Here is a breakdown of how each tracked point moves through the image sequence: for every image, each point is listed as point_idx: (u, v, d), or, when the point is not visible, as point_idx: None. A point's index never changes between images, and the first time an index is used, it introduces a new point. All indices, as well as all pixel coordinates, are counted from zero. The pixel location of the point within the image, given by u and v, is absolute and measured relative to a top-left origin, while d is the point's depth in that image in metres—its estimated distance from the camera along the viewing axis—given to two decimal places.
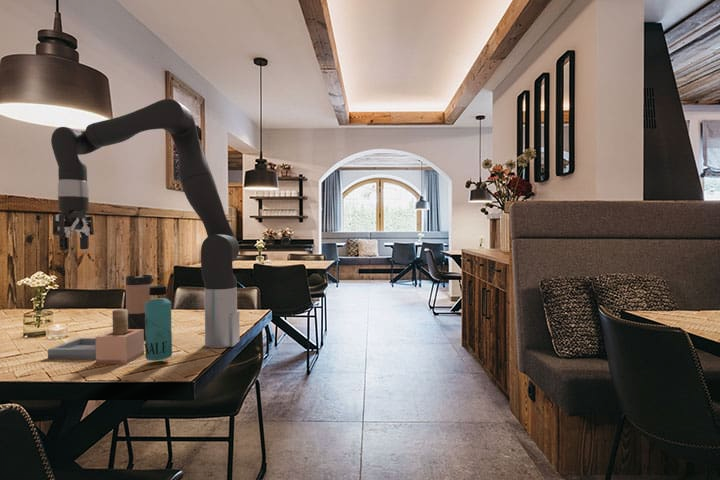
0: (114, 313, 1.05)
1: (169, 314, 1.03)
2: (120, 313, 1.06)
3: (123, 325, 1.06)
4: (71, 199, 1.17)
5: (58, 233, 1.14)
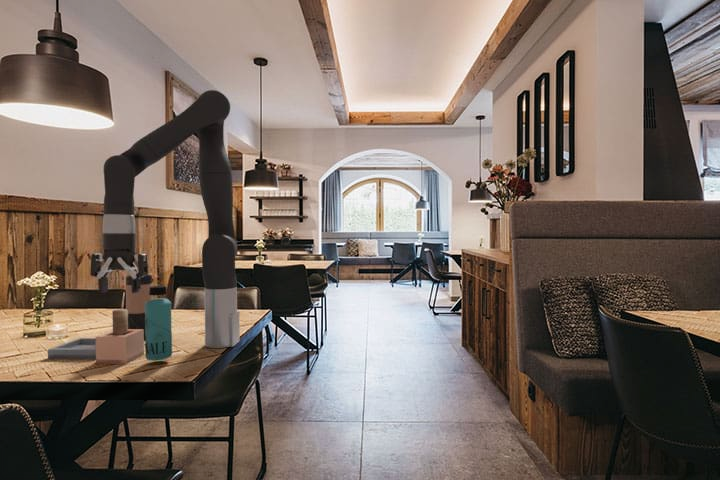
0: (114, 313, 1.05)
1: (169, 314, 1.03)
2: (120, 313, 1.06)
3: (123, 325, 1.06)
4: (135, 236, 1.08)
5: (146, 274, 1.07)
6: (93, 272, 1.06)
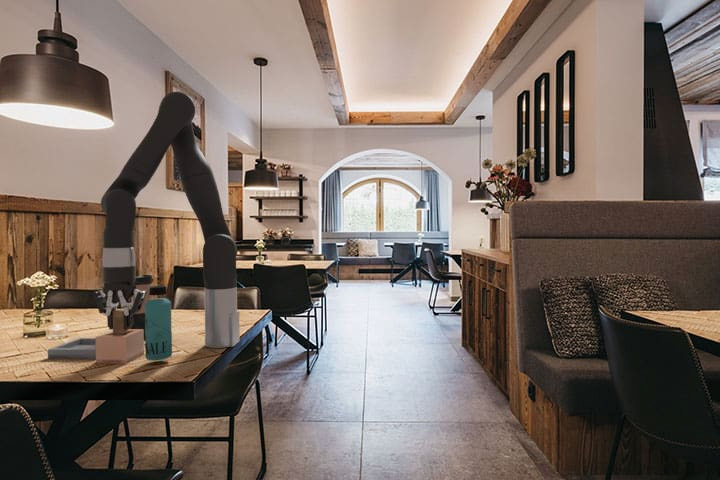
0: (114, 313, 1.05)
1: (169, 314, 1.03)
2: (120, 313, 1.06)
3: (123, 325, 1.06)
4: None
5: (138, 310, 1.07)
6: (101, 309, 1.06)
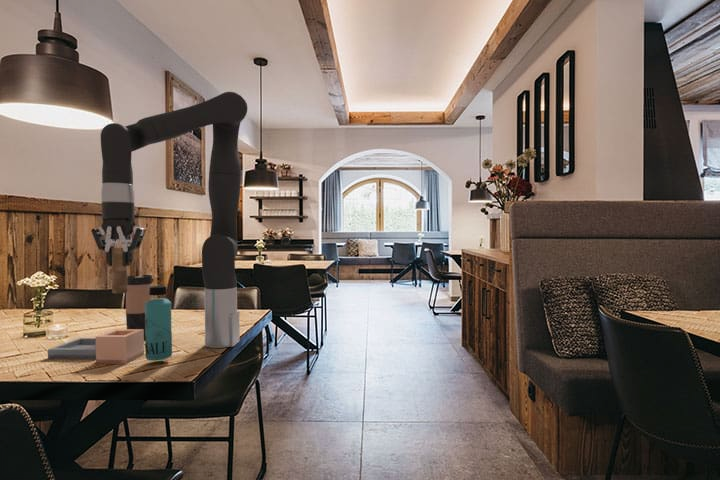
0: (113, 249, 1.05)
1: (169, 314, 1.03)
2: (119, 249, 1.05)
3: (122, 261, 1.06)
4: None
5: (137, 247, 1.07)
6: (100, 245, 1.06)
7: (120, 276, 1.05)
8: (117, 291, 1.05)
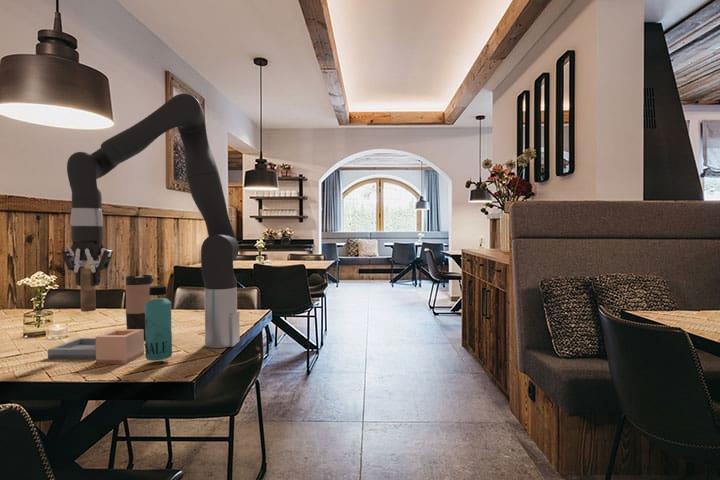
0: (82, 270, 1.12)
1: (169, 314, 1.03)
2: (87, 270, 1.12)
3: (90, 281, 1.12)
4: (102, 229, 1.15)
5: (105, 268, 1.13)
6: (70, 266, 1.12)
7: (88, 295, 1.12)
8: (85, 309, 1.12)
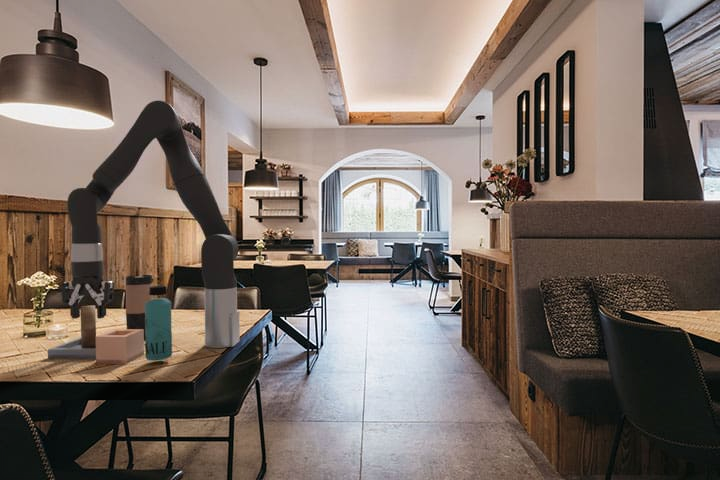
0: (82, 309, 1.12)
1: (169, 314, 1.03)
2: (87, 309, 1.12)
3: (91, 320, 1.12)
4: None
5: (111, 300, 1.14)
6: (65, 299, 1.12)
7: (88, 334, 1.12)
8: None
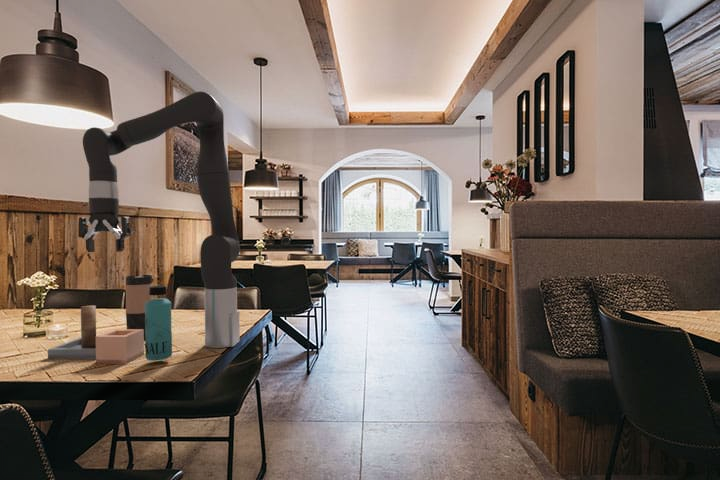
0: (82, 309, 1.12)
1: (169, 314, 1.03)
2: (88, 309, 1.12)
3: (91, 320, 1.12)
4: (118, 202, 1.21)
5: (129, 235, 1.20)
6: (81, 234, 1.18)
7: (88, 334, 1.12)
8: None
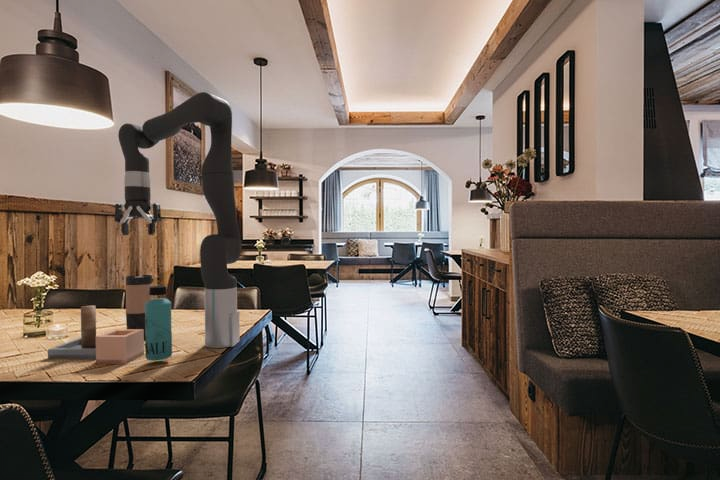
0: (82, 309, 1.12)
1: (169, 314, 1.03)
2: (88, 309, 1.12)
3: (91, 320, 1.12)
4: None
5: (159, 220, 1.33)
6: (117, 218, 1.32)
7: (88, 334, 1.12)
8: None
